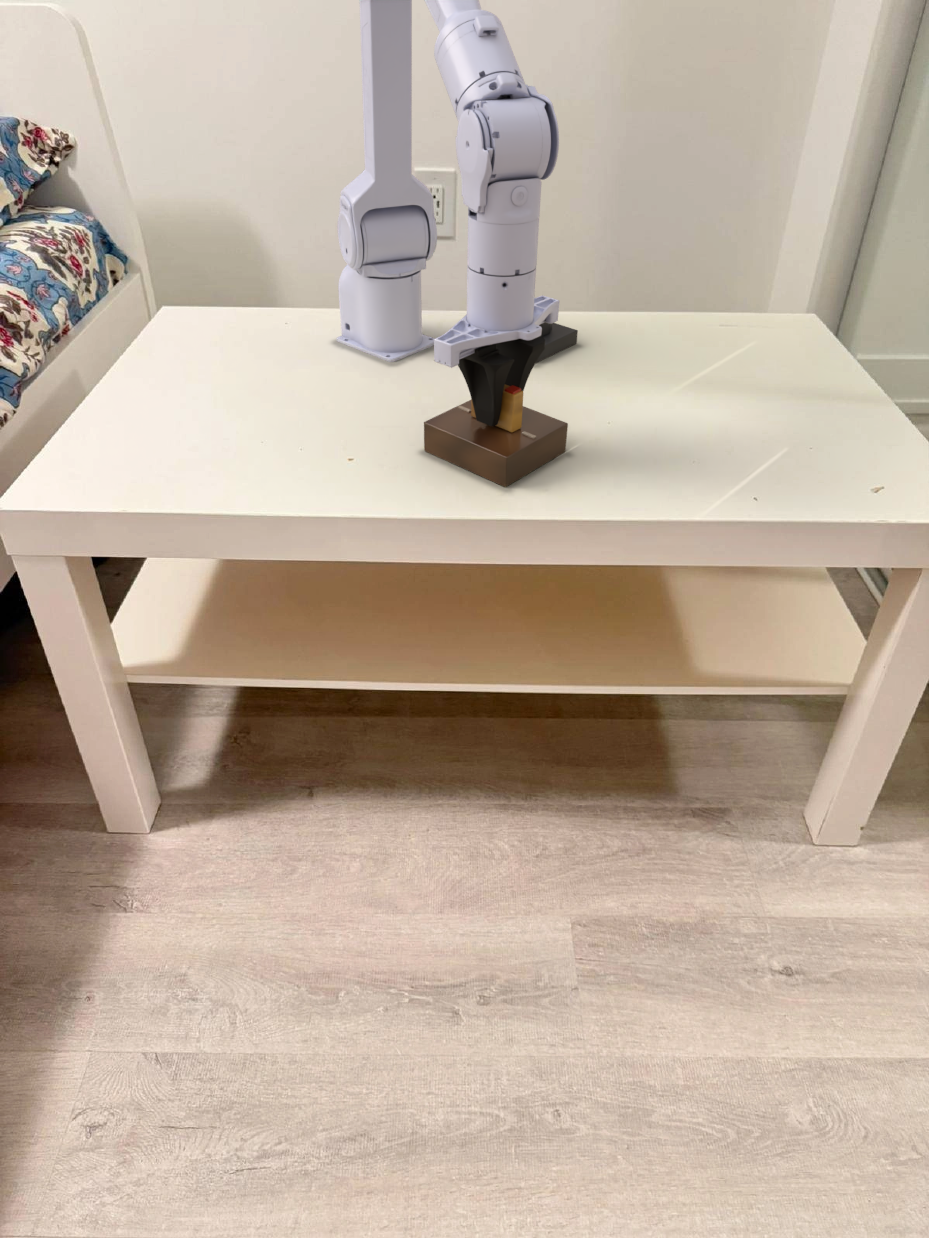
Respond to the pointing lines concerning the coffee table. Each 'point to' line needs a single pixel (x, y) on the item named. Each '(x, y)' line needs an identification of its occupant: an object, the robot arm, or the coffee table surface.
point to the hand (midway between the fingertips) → (496, 417)
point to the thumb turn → (509, 409)
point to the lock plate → (495, 443)
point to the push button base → (556, 339)
